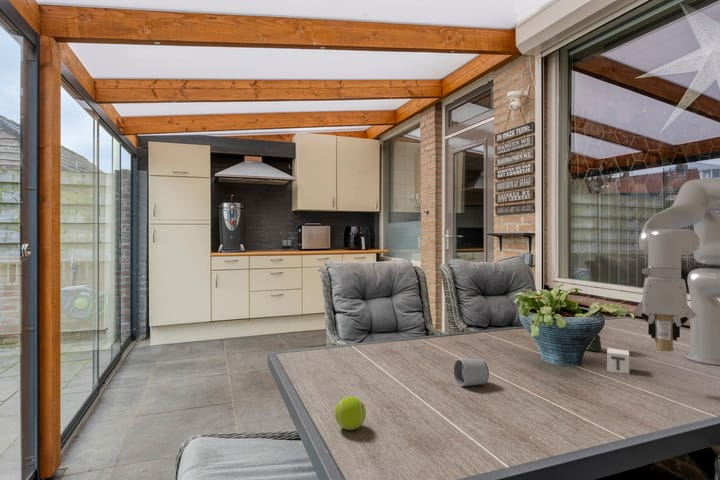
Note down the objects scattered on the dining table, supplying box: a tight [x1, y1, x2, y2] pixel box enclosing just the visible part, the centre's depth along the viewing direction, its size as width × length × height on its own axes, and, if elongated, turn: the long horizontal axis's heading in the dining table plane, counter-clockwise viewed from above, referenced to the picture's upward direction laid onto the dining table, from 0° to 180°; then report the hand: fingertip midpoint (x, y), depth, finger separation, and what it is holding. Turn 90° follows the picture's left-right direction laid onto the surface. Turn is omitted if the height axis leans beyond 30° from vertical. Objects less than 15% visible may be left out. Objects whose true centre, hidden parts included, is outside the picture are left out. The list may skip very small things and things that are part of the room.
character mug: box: [587, 329, 604, 352], centre depth 161 cm, size 11×7×13 cm, turn 116°
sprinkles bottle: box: [653, 314, 674, 353], centre depth 120 cm, size 5×5×14 cm
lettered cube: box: [606, 347, 630, 375], centre depth 138 cm, size 6×6×6 cm
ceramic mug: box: [453, 358, 490, 387], centre depth 127 cm, size 11×8×8 cm
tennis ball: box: [334, 396, 367, 431], centre depth 97 cm, size 7×7×7 cm
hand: (663, 337), depth 120 cm, fingers closed on sprinkles bottle, 4 cm apart
